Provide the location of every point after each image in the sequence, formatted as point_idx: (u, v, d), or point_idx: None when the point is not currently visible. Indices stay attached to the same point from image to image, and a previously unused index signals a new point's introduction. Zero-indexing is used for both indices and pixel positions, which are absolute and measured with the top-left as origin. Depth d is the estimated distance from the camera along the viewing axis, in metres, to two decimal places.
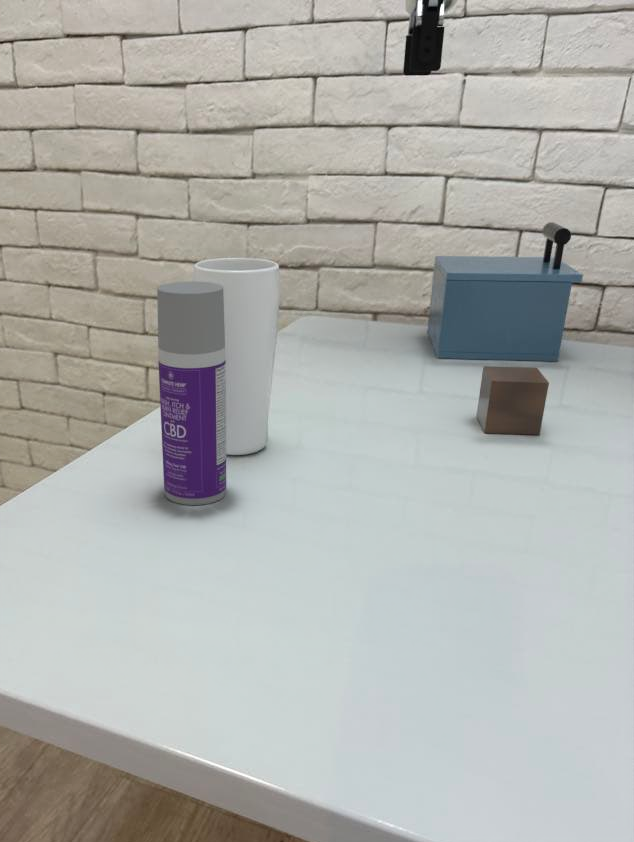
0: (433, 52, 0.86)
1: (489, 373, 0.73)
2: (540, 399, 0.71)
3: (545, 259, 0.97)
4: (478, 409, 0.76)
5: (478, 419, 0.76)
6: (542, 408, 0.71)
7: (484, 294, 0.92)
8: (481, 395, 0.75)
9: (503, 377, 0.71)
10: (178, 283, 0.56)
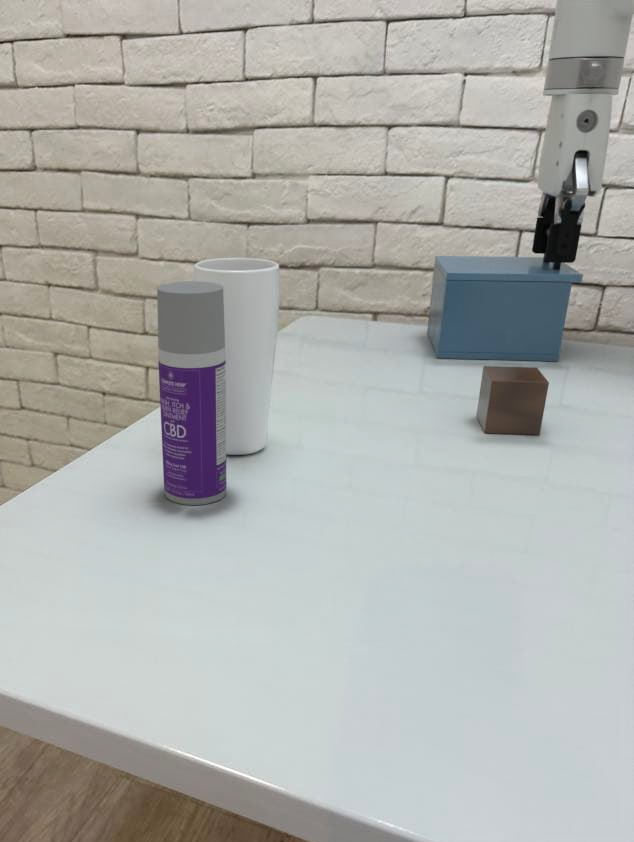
0: (570, 248, 0.90)
1: (489, 373, 0.73)
2: (540, 399, 0.71)
3: None
4: (478, 409, 0.76)
5: (478, 419, 0.76)
6: (542, 408, 0.71)
7: (484, 294, 0.92)
8: (481, 395, 0.75)
9: (503, 377, 0.71)
10: (178, 283, 0.56)
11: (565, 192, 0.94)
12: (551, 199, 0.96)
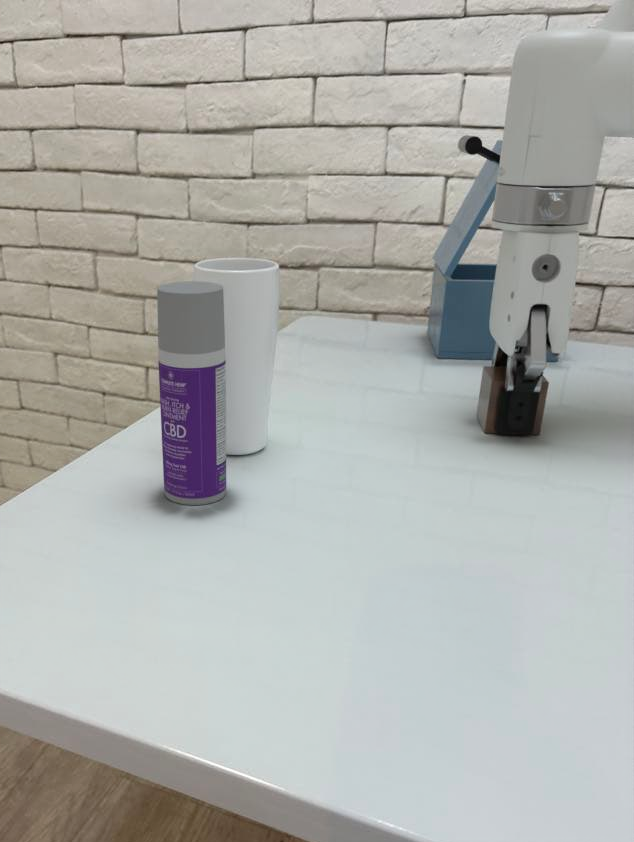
0: (526, 419, 0.70)
1: (489, 373, 0.73)
2: (540, 399, 0.71)
3: (490, 159, 0.93)
4: (478, 409, 0.76)
5: (478, 419, 0.76)
6: (542, 408, 0.71)
7: (484, 294, 0.92)
8: (481, 395, 0.75)
9: (503, 377, 0.71)
10: (178, 283, 0.56)
11: None
12: None
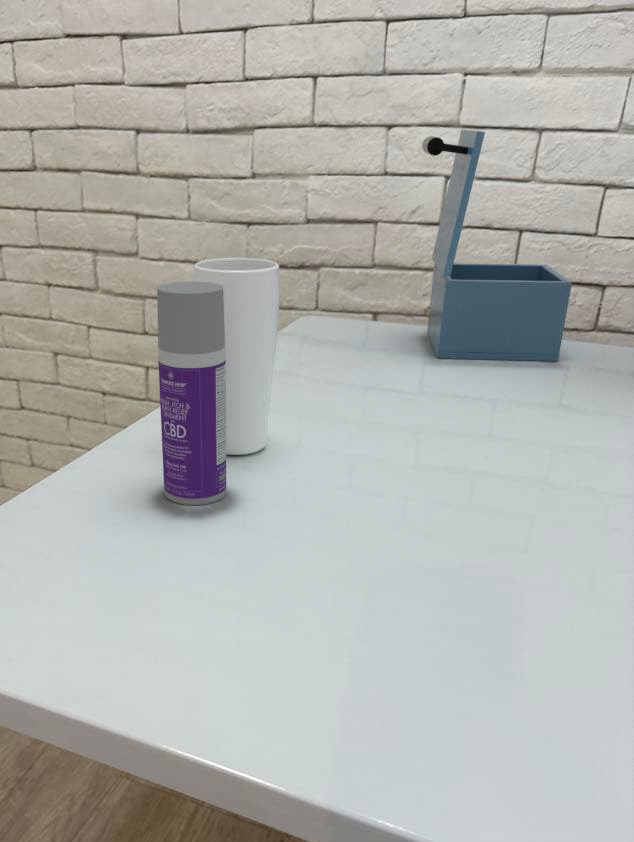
0: None
1: None
2: None
3: None
4: None
5: None
6: None
7: (484, 294, 0.92)
8: None
9: None
10: (178, 283, 0.56)
11: None
12: None
